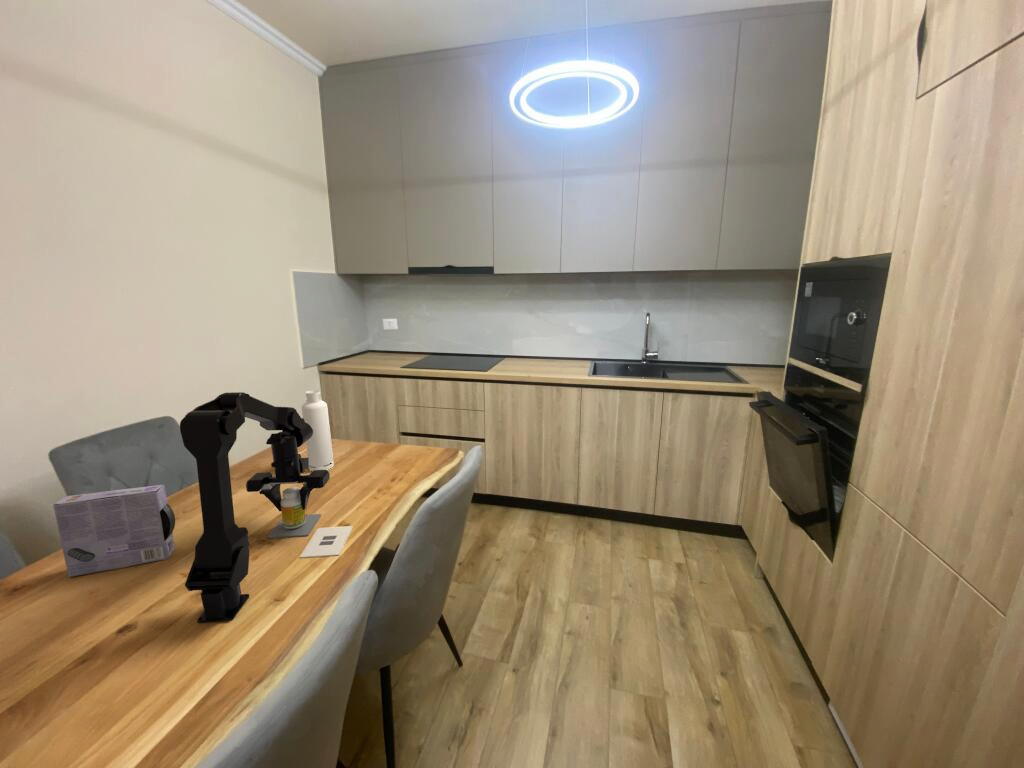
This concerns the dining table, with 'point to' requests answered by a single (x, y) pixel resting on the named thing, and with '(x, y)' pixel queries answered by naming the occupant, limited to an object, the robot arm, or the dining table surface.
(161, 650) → the dining table surface
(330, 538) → the tile
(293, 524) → the supplement bottle
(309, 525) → the slate mat
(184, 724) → the dining table surface
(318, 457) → the bottle
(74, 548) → the cake pan box
